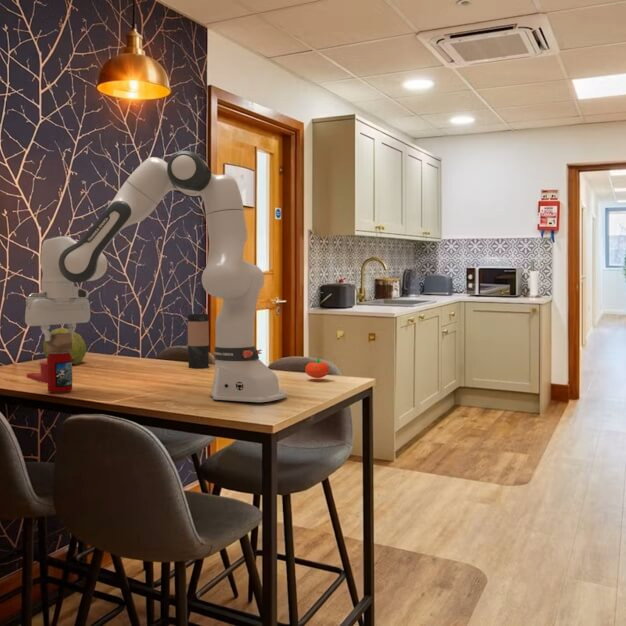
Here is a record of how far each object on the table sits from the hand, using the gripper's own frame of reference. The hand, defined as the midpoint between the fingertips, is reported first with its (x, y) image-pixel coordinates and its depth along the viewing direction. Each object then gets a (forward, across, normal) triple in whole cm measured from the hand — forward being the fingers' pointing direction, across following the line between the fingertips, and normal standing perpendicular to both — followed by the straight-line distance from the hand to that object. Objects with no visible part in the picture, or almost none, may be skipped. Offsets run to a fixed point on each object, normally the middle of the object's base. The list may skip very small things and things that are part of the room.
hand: (59, 340), depth 196 cm
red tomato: (+16, +63, -50) cm, 82 cm away
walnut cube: (+3, 0, 0) cm, 3 cm away
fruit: (+15, +35, +42) cm, 57 cm away
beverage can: (+15, 0, 0) cm, 16 cm away
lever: (+16, +12, +21) cm, 29 cm away
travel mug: (+15, +60, -1) cm, 62 cm away
